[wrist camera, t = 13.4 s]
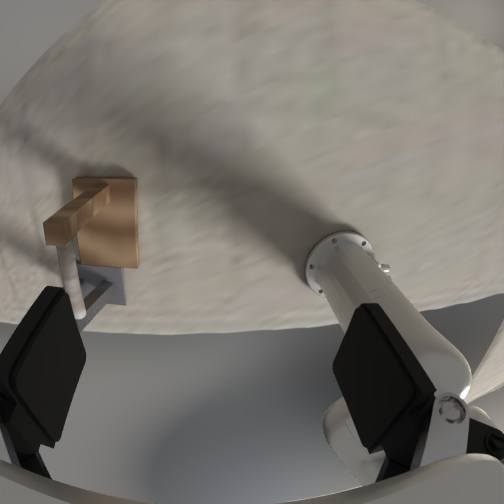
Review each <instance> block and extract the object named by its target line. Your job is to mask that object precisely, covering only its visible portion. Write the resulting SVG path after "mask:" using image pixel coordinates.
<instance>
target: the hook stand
mask: <svg viewBox="0 0 504 504" xmlns="http://www.w3.org/2000/svg"><path fill="white" fill-rule="evenodd" d="M72 180H73V197H74V199H73V200H72V201H71V202H69V203H68V204H67V205H65V206H64V207H63V208H61V209H60V210H59V211H57V212H56V213H55V214H54V215H52V216H51V217H50V218H48V219H47V220H46V221H45V222H43V228H44V234H45V240H46V245H54V246H56V248H57V253H58V259H59V264H60V269H61V274H62V278H63V283H64V287H65V291H66V293H68V295H69V297H70V301H71V305H72V309H73V312H74V316H75V319H82V318H84V317H85V316H86V309H85V305H84V301H83V296H82V292H81V287H80V282H79V277H78V272H77V266H76V260H75V254H74V248H73V241H72V238H73V237H74V236H75V235H76V234H77V238H78V245H79V252H80V259H81V264H85V265H97V266H109V267H122V268H135V269H138V266H139V255H138V235H137V178H131V177H76V178H74V179H72Z"/></svg>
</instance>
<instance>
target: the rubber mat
mask: <svg viewBox="0 0 504 504" xmlns="http://www.w3.org/2000/svg"><path fill="white" fill-rule="evenodd" d="M76 266H77V272H78V277H79V279H82V280H84V282H85V287H86V292H85V293H84V294H83V295H82V296H83V299H84V298H85V297H86V296H87V295H88V294H89V293H90V292H91V291H92V290H93V289H94V288H95V287H97V286H98V285H99V284H100V283H101V282H102V281H103V280H105V281H108V282H112V283H114V288H115V295H114V296H113V297H112V298H111V299H110V300H109V301H108V303H107V304H116V305H126V304H127V303H126V296H125V288H124V280H123V271H122V267H109V266H97V265H85V264H81V263H78V262H76Z"/></svg>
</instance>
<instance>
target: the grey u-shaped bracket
mask: <svg viewBox="0 0 504 504" xmlns="http://www.w3.org/2000/svg"><path fill="white" fill-rule="evenodd" d="M79 282H80V287H81V292H82V295H83V294H84V293H85V292H86V287H85V282H84V280H82V279H79ZM63 289H64V290H65V287H63ZM65 293H66V291H65ZM114 295H115V288H114V283H112V282H108V281H105V280H103V281H102V282H101V283H100V284H99V285H98V286H97V287H95V288H94V289H93V290H92V291H91V292H90V293H89V294H88V295H87V296H86V297H85V298H84V299H83V301H84V305H85V309H86V316H85V317H84V318H82V319H75V320H76V323H77V326H78V330H79V333H80V332H81V331H82V330H83V329H84V328H85V327H86V326H87V325H88V323H89V322H90V321H91V320H92V319H93V318H94V317H95V316H96V315H97V313H98V312H99V311H100V310H101V309H102V308H103V307H104V306H105V305H106V304H107V303H108V301H109V300H110V299H111V298H112V297H113V296H114Z"/></svg>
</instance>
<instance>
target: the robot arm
mask: <svg viewBox="0 0 504 504" xmlns="http://www.w3.org/2000/svg"><path fill="white" fill-rule="evenodd" d="M389 270H390V266H389V265H388V264H382V265H381V264H379V263H378V262H377V261H376V260H375V255H374V250H373V248H372V246H371V244H370V243H369V242H368V240H367V239H365V238H364V237H363V236H362V235H360V234H358V233H355V232H350V231H343V232H337V233H334V234H331V235H329V236H327V237H326V238H324V239H323V240H321V241H320V242H319V243H318V244H317V245H316V246H315V247H314V248H313V250H312V251H311V253H310V255H309V257H308V259H307V262H306V265H305V275H306V279H307V282H308V284H309V286H310V288H311V289H312V290H313V291H314V292H315V293H316V294H317V295H319V296H322V297H324V298H327V300H328V302H329V304H330V306H331V308H332V310H333V311H334V313H335V315H336V317H337V319H338V321H339V323H340V325H341V327H342V329H343V331H344V332H345V336H344V338H343V341H342V343H341V345H340V348H339V350H338V352H337V355H336V357H335V359H334V362H333V372H334V375H335V377H336V379H337V382H338V385H339V387H340V390H341V392H342V395H343V397H342V398H341V399H339V400H338V401H337V402H335V403H334V404H333V405H332V406H331V407H330V408H329V409H328V410H327V411H326V413H325V415H324V417H323V420H322V429H323V434H324V436H325V439H326V441H327V443H328V445H329V446H330V448H331V449H332V451H333V452H334V454H335V455H336V456H337V458H338V459H339V460H340V461H341V462H342V463H343V465H344V466H345V467H346V468H347V469H348V470H349V471H350V472H351V473H352V475H353V476H354V477H355V478H356V479H357V480H358V481H359V482H360V483H361V484H362V485H363V487H359V488H356V489H352V490H348V491H344V492H340V493H336V494H331V495H327V496H322V497H317V498H311V499H306V500H299V501H293V502H285V503H278V504H504V434H503V433H502V432H501V431H500V430H498V429H497V428H496V426H495V424H494V423H493V421H492V420H491V419H490V418H489V416H488V415H487V414H486V413H485V412H484V411H483V410H482V409H480V408H479V407H476V406H467V404H466V403H465V401H464V400H463V399H464V397H465V396H466V394H467V392H468V390H469V388H470V384H471V369H470V366H469V364H468V362H467V361H466V359H465V358H464V356H463V355H462V354H461V353H460V351H459V350H458V349H457V348H456V347H455V346H453V345H452V344H451V343H450V342H449V341H448V340H447V339H445V338H444V337H443V336H442V335H441V334H440V333H439V332H437V330H435V329H434V328H433V327H432V326H431V325H430V324H429V323H428V322H427V321H426V320H425V319H424V317H423V316H422V315H421V314H420V313H419V312H418V311H417V309H416V308H415V307H414V306H413V305H412V304H411V303H410V301H409V300H408V299H407V298H406V297H405V296H404V294H403V293H402V292H401V291H400V290H399V289H398V287H397V286H396V285H395V284H394V283H393V282H392V281H391V277H390V276H387V275H386V274H385V273H384V272H389ZM85 362H86V352H85V349H84V346H83V343H82V339H81V336H80V333H79V330H78V326H77V323H76V320H75V316H74V312H73V309H72V305H71V301H70V297H69V295H68V293H65V290H64V289H63V288H61V287H53V286H46V287H45V288H44V290H43V291H42V292H41V294H40V295H39V296H38V298H37V299H36V301H35V302H34V303H33V305H32V306H31V308H30V309H29V310H28V312H27V313H26V315H25V316H24V318H23V319H22V321H21V322H20V324H19V325H18V327H17V328H16V330H15V331H14V333H13V334H12V336H11V338H10V339H9V341H8V343H7V344H6V346H5V347H4V349H3V351H2V352H1V354H0V504H157V503H149V502H141V501H136V500H130V499H124V498H119V497H114V496H109V495H105V494H100V493H96V492H92V491H88V490H85V489H81V488H77V487H74V486H71V485H68V484H64V483H61V482H58V481H55V480H52V478H51V476H50V474H49V472H48V470H47V468H46V466H45V464H44V462H43V460H42V457H41V455H40V453H39V447H40V444H42V445H45V446H48V447H51V448H54V446H55V442H57V441H59V440H60V438H61V435H62V431H63V428H64V424H65V421H66V417H67V414H68V411H69V407H70V405H71V402H72V398H73V395H74V393H75V390H76V387H77V384H78V381H79V378H80V375H81V372H82V370H83V367H84V365H85Z"/></svg>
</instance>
